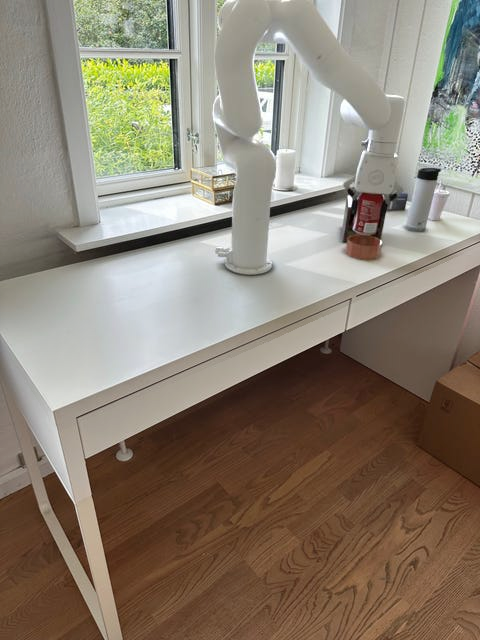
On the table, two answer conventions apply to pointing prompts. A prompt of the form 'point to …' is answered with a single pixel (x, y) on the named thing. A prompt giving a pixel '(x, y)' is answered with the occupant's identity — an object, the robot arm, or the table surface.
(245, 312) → the table surface
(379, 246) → the can holder
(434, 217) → the smoothie
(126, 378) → the table surface
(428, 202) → the travel mug
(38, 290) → the table surface
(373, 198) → the soda can
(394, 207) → the mini dv tape
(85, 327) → the table surface
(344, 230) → the desk shelf
